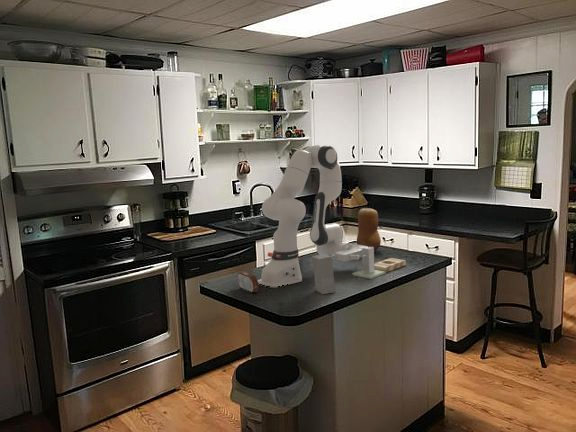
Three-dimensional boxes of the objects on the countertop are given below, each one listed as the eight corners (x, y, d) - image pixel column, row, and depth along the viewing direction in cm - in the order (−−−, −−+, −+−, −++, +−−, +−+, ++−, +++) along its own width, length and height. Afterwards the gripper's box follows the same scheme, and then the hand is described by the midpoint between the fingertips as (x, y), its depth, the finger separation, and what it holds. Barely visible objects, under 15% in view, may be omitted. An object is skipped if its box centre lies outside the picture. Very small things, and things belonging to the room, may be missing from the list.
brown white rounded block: (259, 294, 215) (258, 275, 214) (253, 295, 214) (252, 276, 212) (243, 286, 228) (241, 269, 227) (237, 288, 226) (235, 270, 225)
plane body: (385, 272, 237) (385, 267, 236) (370, 269, 243) (370, 264, 243) (405, 265, 248) (405, 260, 248) (390, 262, 255) (390, 257, 254)
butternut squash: (385, 250, 282) (384, 207, 278) (373, 255, 272) (371, 210, 268) (364, 248, 291) (363, 206, 287) (352, 253, 281) (350, 209, 277)
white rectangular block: (369, 273, 232) (368, 249, 231) (362, 272, 235) (361, 248, 234) (374, 272, 235) (373, 247, 233) (367, 270, 238) (367, 246, 236)
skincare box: (335, 292, 210) (334, 256, 208) (320, 295, 208) (318, 258, 206) (328, 287, 218) (326, 252, 216) (313, 289, 217) (311, 254, 214)
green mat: (370, 278, 228) (370, 276, 228) (352, 275, 236) (352, 273, 236) (385, 273, 235) (385, 271, 235) (366, 270, 243) (366, 268, 243)
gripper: (329, 249, 238) (350, 253, 228) (356, 242, 251) (378, 245, 241) (329, 262, 239) (351, 266, 229) (356, 254, 252) (378, 258, 242)
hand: (365, 255), depth 235 cm, fingers open, 8 cm apart
